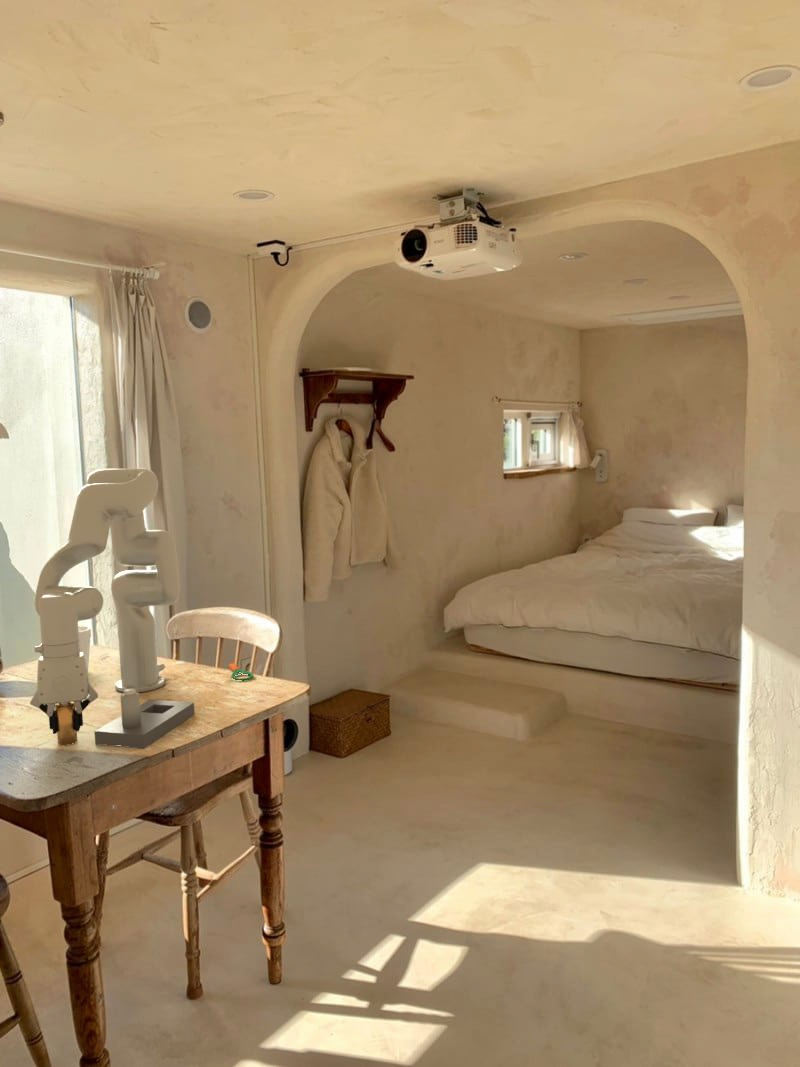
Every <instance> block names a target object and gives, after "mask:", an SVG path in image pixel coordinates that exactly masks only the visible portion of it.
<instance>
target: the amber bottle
mask: <svg viewBox="0 0 800 1067" xmlns="http://www.w3.org/2000/svg"><path fill="white" fill-rule="evenodd" d="M75 710H76V708H75V704H74V702H67V703H57V704H55V711H56V723H57V733H56V736H57V738H56V739H57V744H61V745H60V746H62V745H65V746H68V745H67V744H71V745H73V744H72V743H74V744H76V743H77V742H78V731H77V732H76V731H75V718H74V714H75ZM76 741H77V742H76ZM75 742H76V743H75Z"/></svg>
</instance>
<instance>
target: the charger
mask: <svg viewBox="0 0 800 1067" xmlns="http://www.w3.org/2000/svg"><path fill="white" fill-rule="evenodd" d="M140 696H141V695H140V692H135V689H126V690H124V692H122V694H120V711H121V715H120V716H118V717H117V718H115V719H113V720H112V721H110V722H108V723H106V724H105V725H103V726H101V727H99V728H98V729H95V730H94V741H95V744H94V745H97V744H107V745H106V746H109V745H121V746H129V747H128V748H132V747H137V748H136V749H146V748H147V747H149V746H150V745H152V744H153V743H154V741H155V742H156V741H157V739H158V740H159V739H161V738H162V737H164V736H165V735H166V734H168V733H169V732H171V731H172V730H174V729H175V728H177V727H178V726H180V725H181V724H184V722H186V721H187V720H189V719H190V718H192V717H193V716H194V715H195V702H194V701H178V700H163V699H150V698H149V699H148V700H146V701H144V702H143V703H142V702H141V700H140V699H141V697H140ZM151 743H152V744H151ZM148 745H149V746H148Z"/></svg>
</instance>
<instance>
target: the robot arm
mask: <svg viewBox="0 0 800 1067" xmlns="http://www.w3.org/2000/svg"><path fill="white" fill-rule="evenodd" d="M86 483H87V484H85V485H83V486H82V487H81V488H80V489H79V491H78V494H77V497H76V501H75V506H74V511H73V516H72V518H71V519H72V520H71V524H70V530H69V534H68V538H67V541H66V543H65V544H64V545H62V546H61V547H60V548H59V549H58V550H56V551H55V553H54V554H53V555H52V556H51V557H50V558H49V559H48V560H47V562H46V563H45V564H44V566H43V568H42V569H41V570H40V574H39V578H38V582H37V586H36V589H35V595H34V596H35V597H34V608H35V611H36V614H37V615H38V616H39V623H40V626H39V627H40V639H41V644H40V645H38V646H37V645H35V646H34V653H36V654H37V653H39V654H40V655H41V656H40V657H39V658H38V661H37V662H38V663H37V678H36V681H37V685H36V687H37V688H36V689H37V690H36V692H35V693H34V695H33V697H32V698H31V699H30V702H29V704H30V705H31V706H33V707H35V708H37V709H40V711H42V712H43V713H45V714H46V716H47V717H48V723H49V724H48V725H49V730H52V734H53V735H57V723H56V711H55V705H56V704H58V703H67V702H74V704H75V714H74V718H75V731H76V732H77V733H78V732H80V729H81V727H83V726H84V717H83V711H84V710H85V709H86V708H87V707H88V706H89V705H90V704H91V703H93V702H94V701H95V700H97V699H98V697H99V694H98V692H97V691H96V690H95V688H94V687H93V686H92V685H91V684H90V683H89V676H88V674H87V668H86V662H85V659H84V655H83V653H82V652H80V647H79V632H78V626H79V622H80V621H81V622H82V621H87V620H91V619H93V618H95V617H96V616H98V615H99V614H100V612H101V611H102V609H103V606H104V597H103V595H102V593H101V591H100V590H99V589H97V588H96V587H93V586H88V585H86V586H85V585H84V586H83V585H75V586H74V585H60V582H61V580H62V578H64V575H65V574H67V572H69V570H71V569H73V568H74V567H76V566H78V565H79V564H82V563H84V562H85V561H88V560H90V559H92V558H94V557H97V556H99V555H100V554H102V553H104V551H105V550H106V548H107V545H108V544H107V543H108V538H109V533H111V543H112V552H113V555H114V556H113V557H114V559H115V561H116V563H117V564H118V565H120V566H124V567H154V568H155V569H129V570H124V571H120V572H119V573H117V574H115V576H114V577H113V578H112V580H111V587H110V588H111V595H112V597H113V598H112V599H113V603H114V606H115V612H116V622H117V634H118V648H119V649H118V650H119V666H120V667H119V668H120V680H118V681H117V682H115V690H116V691H118V692H121V693H124V690H126V689H135V692H138V693H143V692H149V691H153V690H156V689H159V688H161V687H163V686H164V685H165V678H164V677H162V676H160V674H159V673H160V672H161V671H164V670H165V668H166V665H165V664H164V663H162V662H161V663H158V655H157V654H158V653H157V635H156V620H155V618H154V615H153V614H152V612H151V611H150V610H149V608H148V607H161V606H162V607H165V606H172V605H175V603H177V601H178V600H179V597H180V591H181V588H180V587H181V585H180V582H181V581H180V575H179V574H180V571H179V563H178V562H179V561H178V553H177V552H178V551H177V546H176V541H175V538H174V536H173V535H172V534H171V532H169V531H167V530H163V529H147V528H146V524H145V517H144V510H145V509H146V508H147V507H148V506H149V505H150V504H151V503H152V502H153V501H155V498H156V496H157V494H158V492H159V481H158V478H157V475H156V473H154V471H152V470H151V469H148V468H103V469H96V470H93V471H92V472H90V473H89V474H88V475H87V479H86Z"/></svg>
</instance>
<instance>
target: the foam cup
mask: <svg viewBox="0 0 800 1067" xmlns="http://www.w3.org/2000/svg"><path fill="white" fill-rule="evenodd" d="M91 631H92V628H91V626H88V625H78V632H79V647H80V652H82V653H83V655H84V659H85V662H86V668H87V674H88V673H89V663H90V662H89V661H90V648H91V647H90V646H91V637H92V632H91Z"/></svg>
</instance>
